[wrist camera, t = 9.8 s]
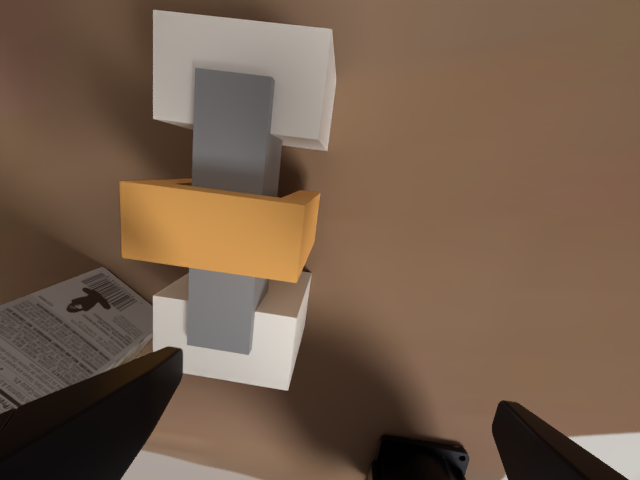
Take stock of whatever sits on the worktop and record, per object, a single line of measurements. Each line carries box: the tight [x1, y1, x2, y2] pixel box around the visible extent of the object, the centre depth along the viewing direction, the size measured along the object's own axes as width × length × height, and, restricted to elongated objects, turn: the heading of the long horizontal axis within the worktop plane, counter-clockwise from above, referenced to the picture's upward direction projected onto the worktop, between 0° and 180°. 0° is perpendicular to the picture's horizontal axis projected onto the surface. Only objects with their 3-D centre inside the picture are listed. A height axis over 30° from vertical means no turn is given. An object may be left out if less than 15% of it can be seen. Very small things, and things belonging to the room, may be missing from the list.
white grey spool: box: [153, 10, 336, 391], centre depth 16 cm, size 16×7×7 cm, turn 173°
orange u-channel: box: [120, 178, 320, 283], centre depth 15 cm, size 7×3×7 cm, turn 83°
